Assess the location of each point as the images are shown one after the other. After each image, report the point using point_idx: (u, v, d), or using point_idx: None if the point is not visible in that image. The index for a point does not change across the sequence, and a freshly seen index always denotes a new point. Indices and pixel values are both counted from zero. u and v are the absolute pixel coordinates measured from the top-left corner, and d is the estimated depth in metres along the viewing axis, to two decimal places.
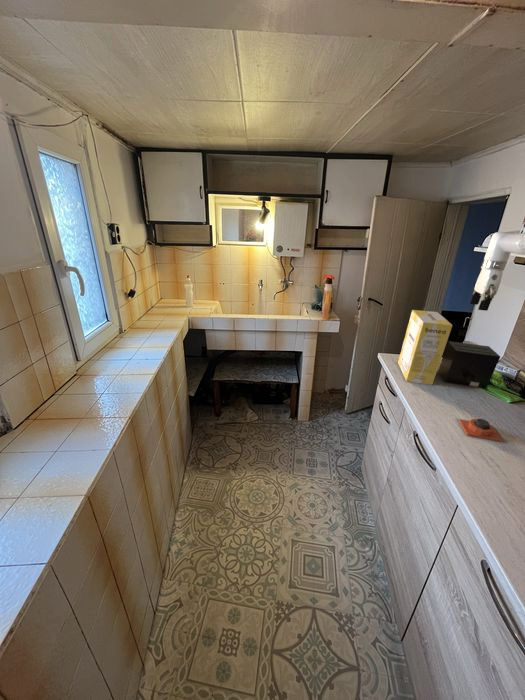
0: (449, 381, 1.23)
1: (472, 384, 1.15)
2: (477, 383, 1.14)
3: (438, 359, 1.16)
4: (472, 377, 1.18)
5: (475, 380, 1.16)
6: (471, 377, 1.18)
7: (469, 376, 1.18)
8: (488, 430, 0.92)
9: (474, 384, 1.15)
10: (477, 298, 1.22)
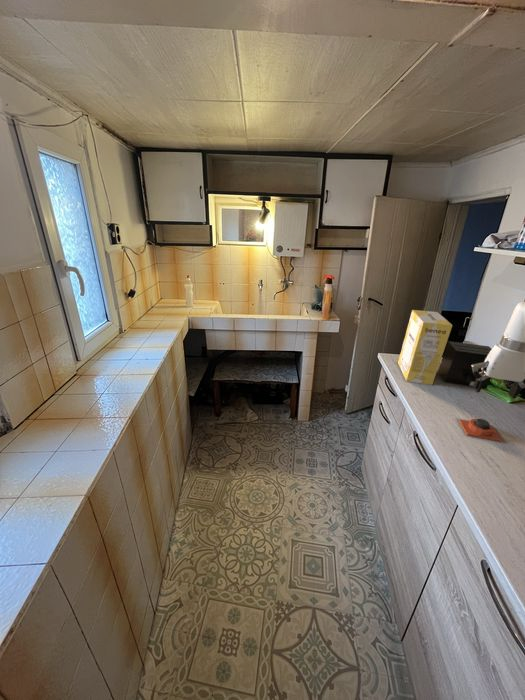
0: (449, 381, 1.23)
1: (472, 384, 1.15)
2: None
3: (438, 359, 1.16)
4: (472, 377, 1.18)
5: None
6: (471, 377, 1.18)
7: (469, 376, 1.18)
8: (488, 430, 0.92)
9: None
10: None
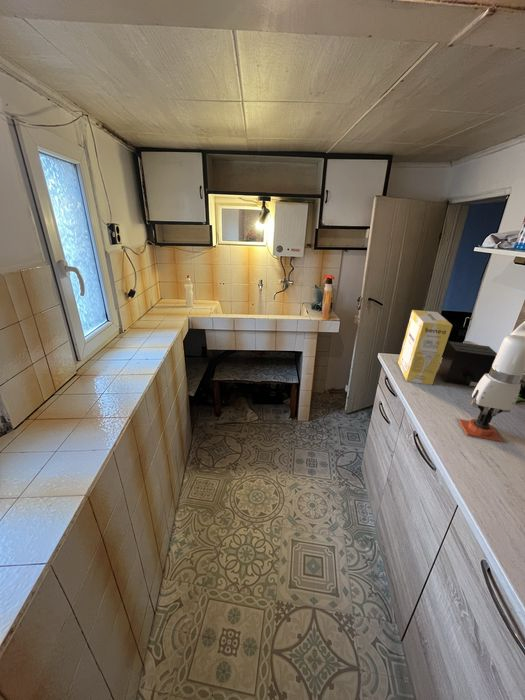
0: (449, 381, 1.23)
1: (472, 384, 1.15)
2: (477, 383, 1.14)
3: (438, 359, 1.16)
4: (472, 377, 1.18)
5: (475, 380, 1.16)
6: (471, 377, 1.18)
7: (469, 376, 1.18)
8: (488, 430, 0.92)
9: (474, 384, 1.15)
10: None
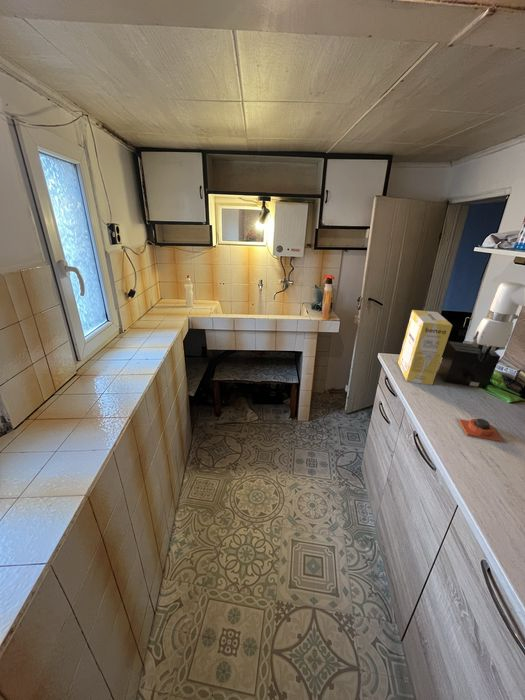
0: (449, 381, 1.23)
1: (472, 384, 1.15)
2: (477, 383, 1.14)
3: (438, 359, 1.16)
4: (472, 377, 1.18)
5: (475, 380, 1.16)
6: (471, 377, 1.18)
7: (469, 376, 1.18)
8: (488, 430, 0.92)
9: (474, 384, 1.15)
10: None
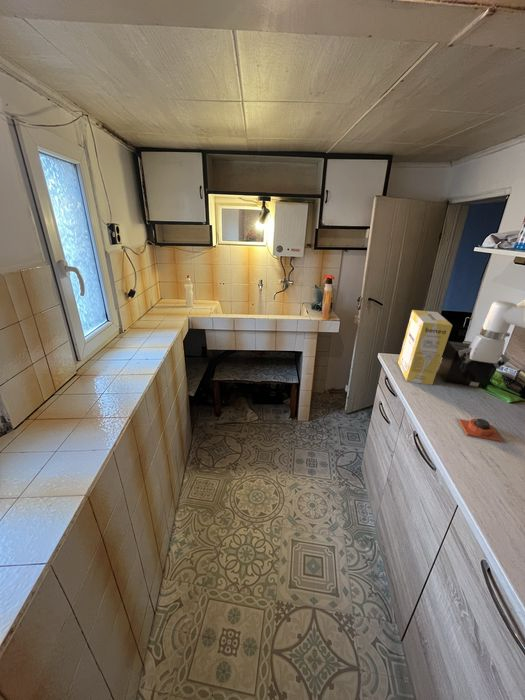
0: (449, 381, 1.23)
1: (472, 384, 1.15)
2: (477, 383, 1.14)
3: (438, 359, 1.16)
4: (472, 377, 1.18)
5: (475, 380, 1.16)
6: (471, 377, 1.18)
7: (469, 376, 1.18)
8: (488, 430, 0.92)
9: (474, 384, 1.15)
10: None
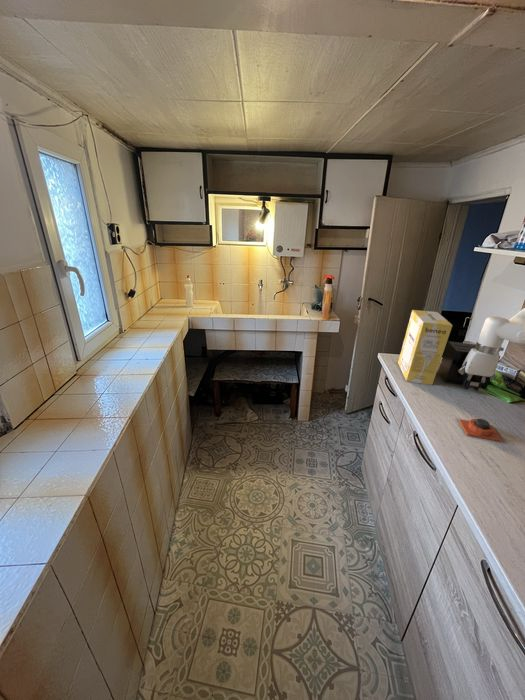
0: (449, 381, 1.23)
1: (472, 384, 1.15)
2: (477, 383, 1.14)
3: (438, 359, 1.16)
4: (472, 377, 1.18)
5: (475, 380, 1.16)
6: (471, 377, 1.18)
7: None
8: (488, 430, 0.92)
9: (474, 384, 1.15)
10: None
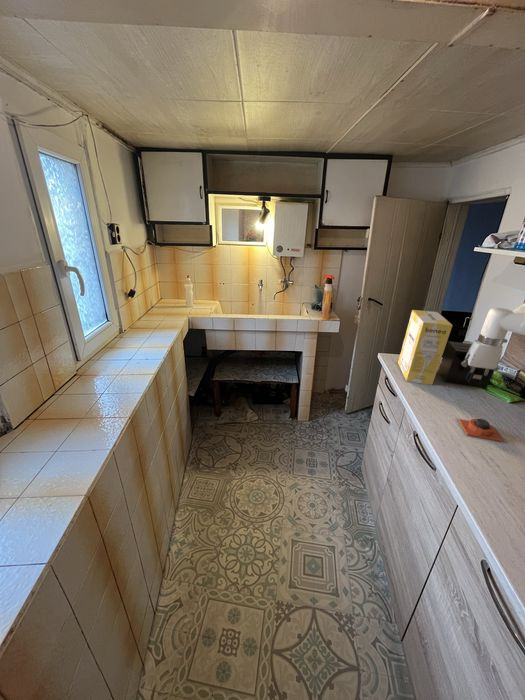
0: (449, 381, 1.23)
1: (475, 377, 1.13)
2: (480, 376, 1.13)
3: (438, 359, 1.16)
4: (475, 370, 1.16)
5: (478, 373, 1.14)
6: (474, 370, 1.16)
7: None
8: (488, 430, 0.92)
9: (477, 377, 1.13)
10: None
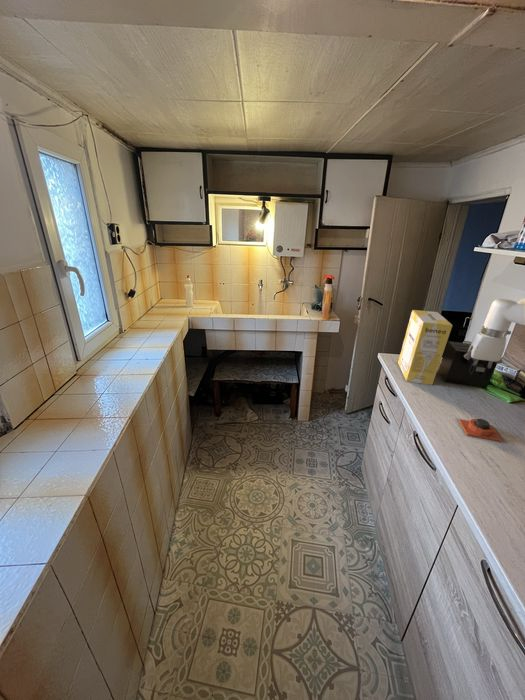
0: (449, 381, 1.23)
1: (478, 369, 1.12)
2: (483, 368, 1.11)
3: (438, 359, 1.16)
4: (478, 363, 1.15)
5: (481, 365, 1.13)
6: (477, 363, 1.15)
7: None
8: (488, 430, 0.92)
9: (480, 369, 1.12)
10: None
